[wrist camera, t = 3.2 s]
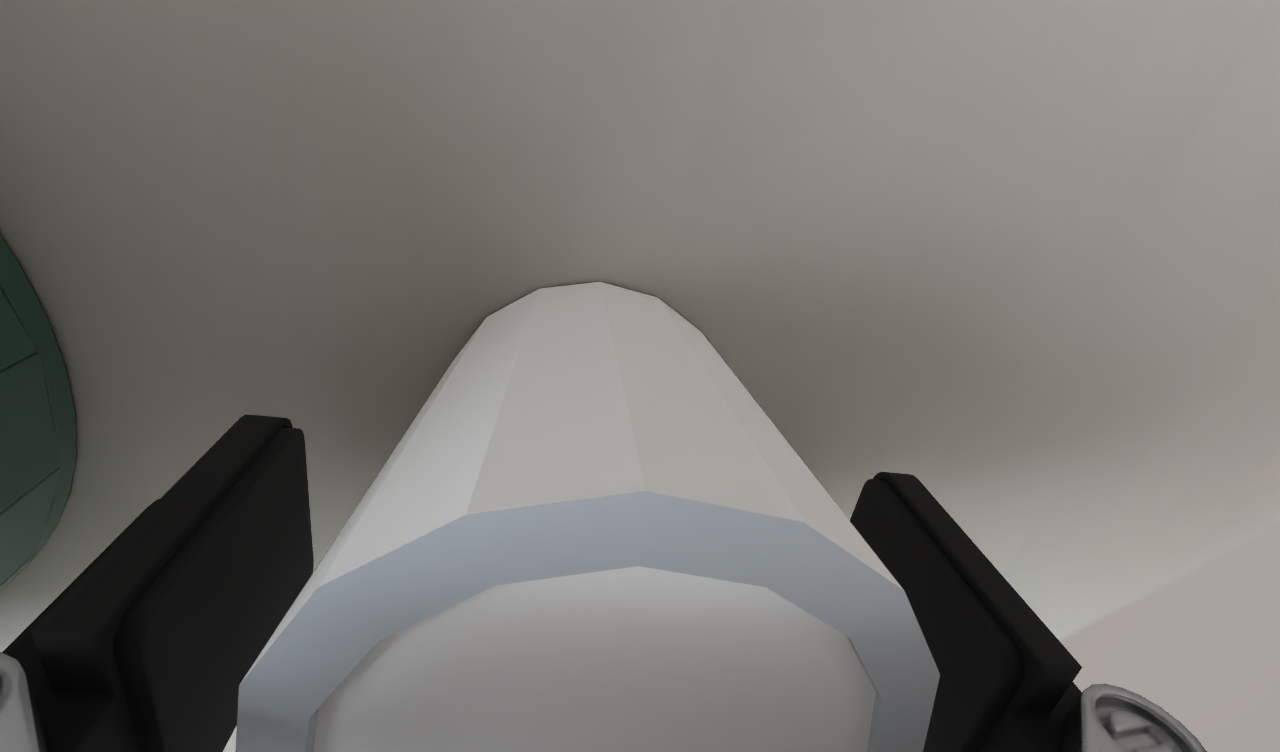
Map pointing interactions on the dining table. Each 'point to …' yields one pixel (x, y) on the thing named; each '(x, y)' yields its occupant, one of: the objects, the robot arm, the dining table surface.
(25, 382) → the tin
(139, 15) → the dining table surface
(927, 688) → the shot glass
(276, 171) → the dining table surface
